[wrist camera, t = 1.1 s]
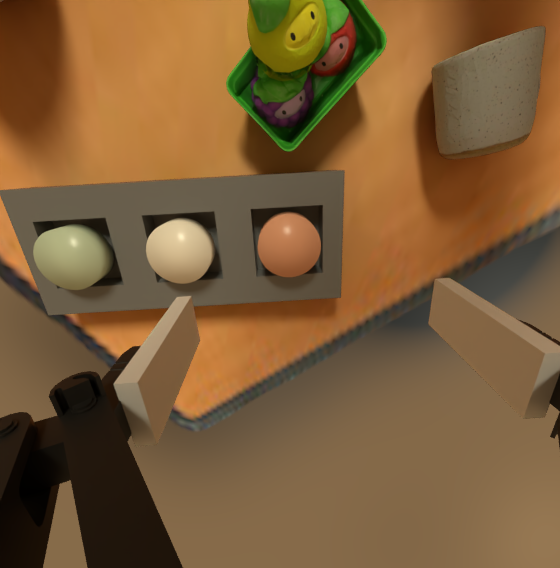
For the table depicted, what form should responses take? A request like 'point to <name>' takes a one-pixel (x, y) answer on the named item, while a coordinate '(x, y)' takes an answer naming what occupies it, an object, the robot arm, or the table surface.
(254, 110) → the fruit basket
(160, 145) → the table surface
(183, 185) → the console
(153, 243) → the cream button
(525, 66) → the ceramic mug
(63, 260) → the sage button
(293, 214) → the terracotta button
